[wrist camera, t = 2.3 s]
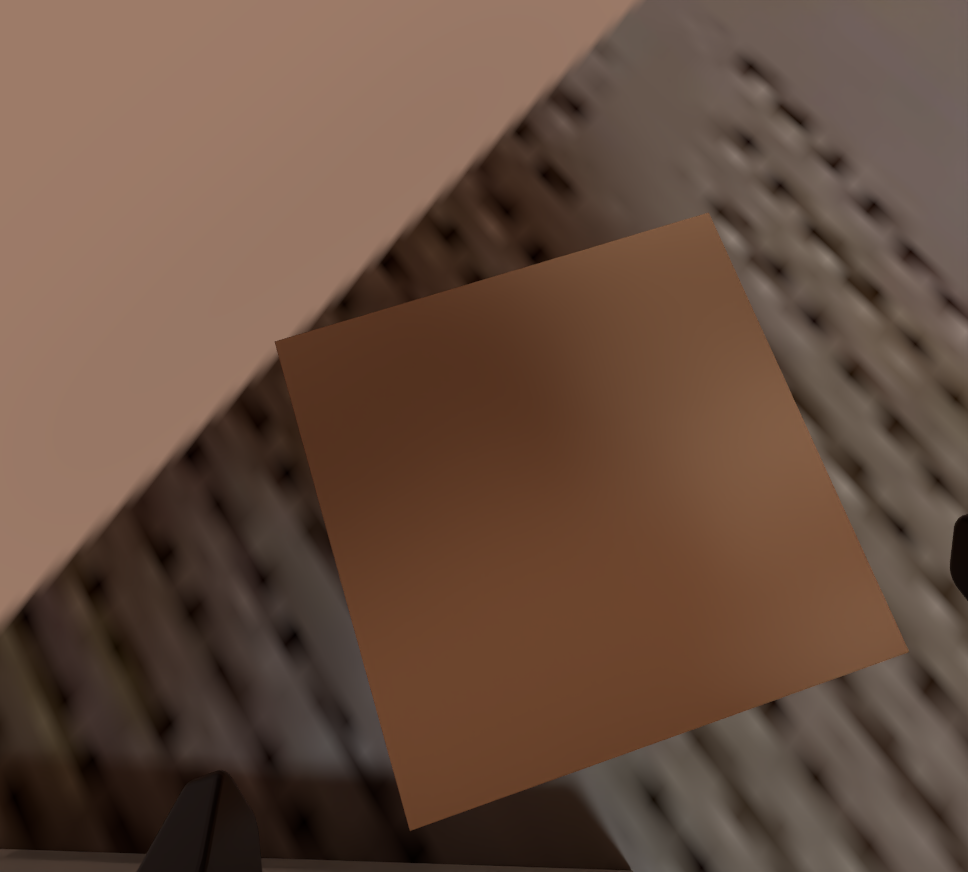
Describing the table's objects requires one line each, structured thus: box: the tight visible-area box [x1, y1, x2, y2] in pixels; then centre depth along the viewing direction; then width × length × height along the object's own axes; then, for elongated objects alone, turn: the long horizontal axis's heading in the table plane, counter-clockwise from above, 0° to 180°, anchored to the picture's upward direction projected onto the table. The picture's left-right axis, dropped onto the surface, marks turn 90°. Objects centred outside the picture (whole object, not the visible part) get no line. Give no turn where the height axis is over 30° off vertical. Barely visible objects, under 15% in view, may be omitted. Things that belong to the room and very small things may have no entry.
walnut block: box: [275, 213, 909, 831], centre depth 13 cm, size 5×5×11 cm
